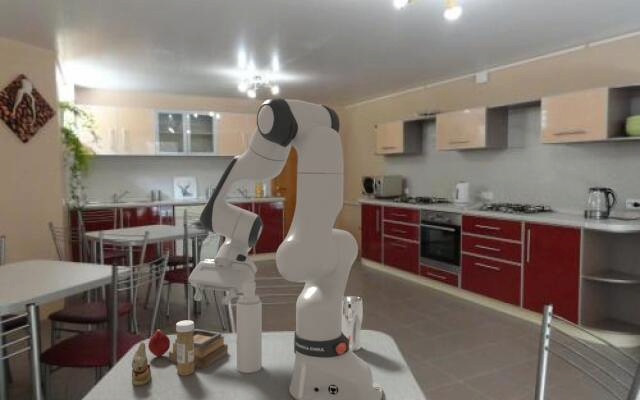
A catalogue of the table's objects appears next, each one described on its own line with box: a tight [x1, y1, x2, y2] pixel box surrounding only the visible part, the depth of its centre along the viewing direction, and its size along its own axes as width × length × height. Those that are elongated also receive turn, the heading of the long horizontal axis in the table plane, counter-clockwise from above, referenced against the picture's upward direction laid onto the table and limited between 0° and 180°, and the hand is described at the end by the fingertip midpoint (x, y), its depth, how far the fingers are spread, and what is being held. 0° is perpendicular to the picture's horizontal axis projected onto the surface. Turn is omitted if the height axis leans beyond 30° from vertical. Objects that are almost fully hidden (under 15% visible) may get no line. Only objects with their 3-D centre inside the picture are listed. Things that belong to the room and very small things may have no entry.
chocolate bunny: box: [131, 341, 152, 387], centre depth 113 cm, size 6×8×10 cm
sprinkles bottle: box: [175, 319, 195, 376], centre depth 117 cm, size 5×5×13 cm
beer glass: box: [342, 295, 364, 353], centre depth 135 cm, size 7×7×15 cm
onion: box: [147, 329, 171, 358], centre depth 127 cm, size 6×6×8 cm
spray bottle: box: [236, 280, 263, 374], centre depth 120 cm, size 7×7×25 cm
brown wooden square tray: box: [168, 328, 229, 369], centre depth 128 cm, size 12×11×6 cm
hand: (210, 301), depth 127 cm, fingers open, 8 cm apart
